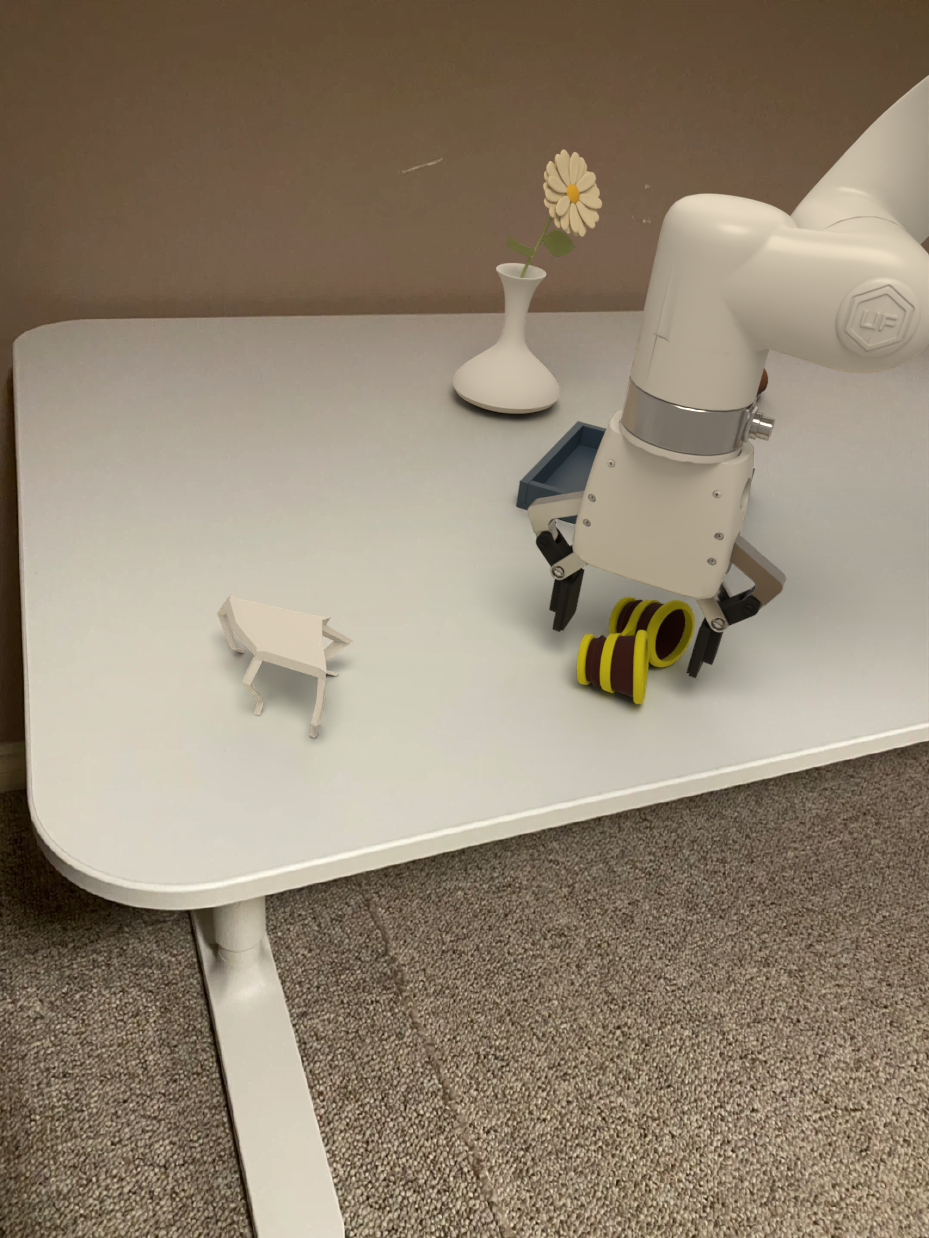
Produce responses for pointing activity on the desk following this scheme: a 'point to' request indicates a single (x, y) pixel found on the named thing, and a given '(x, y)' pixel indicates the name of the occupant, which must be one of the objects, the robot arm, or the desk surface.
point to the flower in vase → (509, 367)
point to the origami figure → (282, 643)
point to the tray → (563, 467)
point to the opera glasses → (635, 645)
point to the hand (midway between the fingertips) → (628, 643)
